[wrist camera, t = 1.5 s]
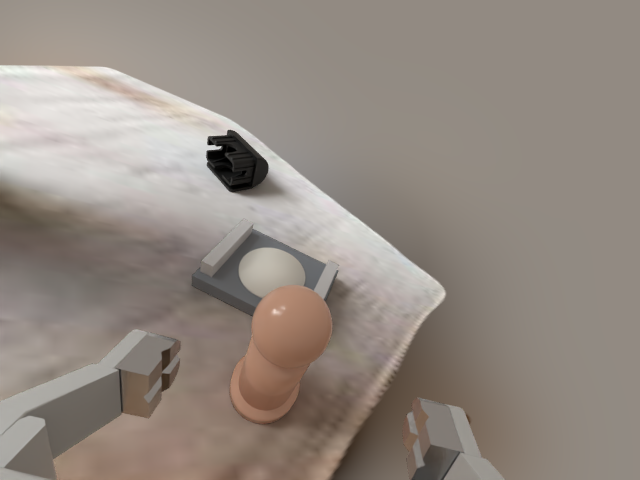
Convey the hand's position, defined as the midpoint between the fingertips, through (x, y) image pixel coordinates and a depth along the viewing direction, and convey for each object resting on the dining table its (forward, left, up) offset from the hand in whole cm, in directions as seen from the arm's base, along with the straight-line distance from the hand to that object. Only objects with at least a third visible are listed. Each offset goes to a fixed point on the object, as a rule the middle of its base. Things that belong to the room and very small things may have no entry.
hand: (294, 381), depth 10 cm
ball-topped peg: (+3, +9, -23) cm, 25 cm away
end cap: (-2, +48, -23) cm, 53 cm away
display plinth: (+4, +23, -23) cm, 33 cm away
